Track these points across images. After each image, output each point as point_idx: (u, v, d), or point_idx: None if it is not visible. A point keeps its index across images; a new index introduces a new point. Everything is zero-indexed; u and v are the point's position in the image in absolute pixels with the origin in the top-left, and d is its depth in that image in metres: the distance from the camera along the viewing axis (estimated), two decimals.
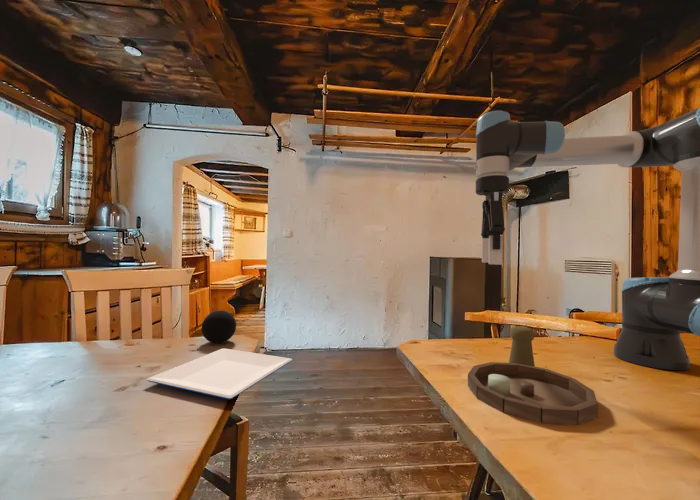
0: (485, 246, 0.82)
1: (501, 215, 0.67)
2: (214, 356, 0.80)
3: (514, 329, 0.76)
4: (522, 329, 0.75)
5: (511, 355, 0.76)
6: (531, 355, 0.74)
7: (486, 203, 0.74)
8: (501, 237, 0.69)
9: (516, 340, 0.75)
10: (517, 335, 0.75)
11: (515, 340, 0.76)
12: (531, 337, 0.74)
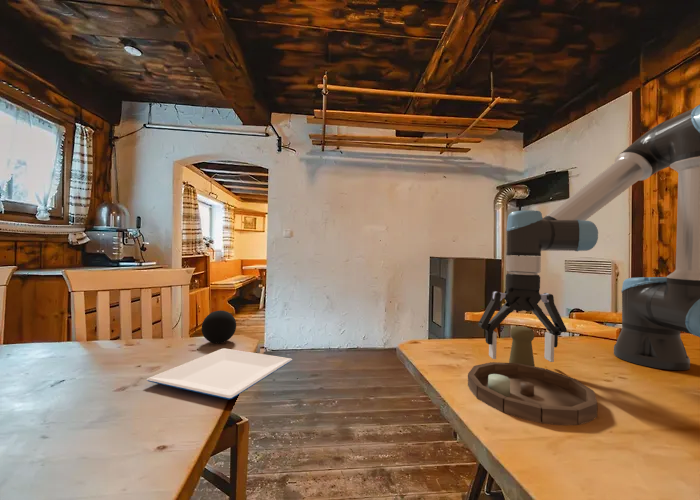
0: (546, 341, 0.76)
1: (486, 314, 0.76)
2: (214, 356, 0.80)
3: (514, 329, 0.76)
4: (522, 329, 0.75)
5: (511, 355, 0.76)
6: (531, 355, 0.74)
7: None
8: (493, 334, 0.76)
9: (516, 340, 0.75)
10: (517, 335, 0.75)
11: (515, 340, 0.76)
12: (531, 337, 0.74)
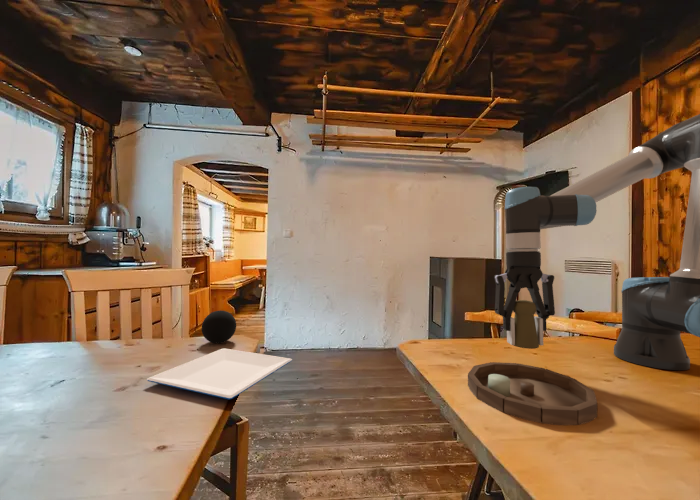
0: None
1: (498, 300, 0.76)
2: (214, 356, 0.80)
3: (516, 303, 0.76)
4: (524, 302, 0.75)
5: None
6: (534, 328, 0.74)
7: None
8: (510, 320, 0.75)
9: (518, 314, 0.75)
10: (519, 309, 0.75)
11: (517, 314, 0.76)
12: (533, 310, 0.74)
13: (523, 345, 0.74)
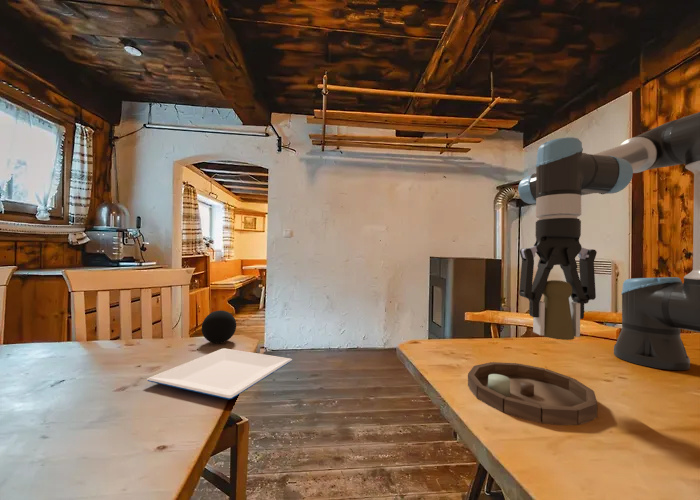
0: None
1: (525, 279, 0.61)
2: (214, 356, 0.80)
3: (547, 283, 0.61)
4: (557, 282, 0.60)
5: None
6: (569, 314, 0.59)
7: None
8: (540, 304, 0.61)
9: (549, 297, 0.61)
10: (551, 290, 0.60)
11: (548, 297, 0.61)
12: (569, 291, 0.59)
13: (555, 335, 0.59)
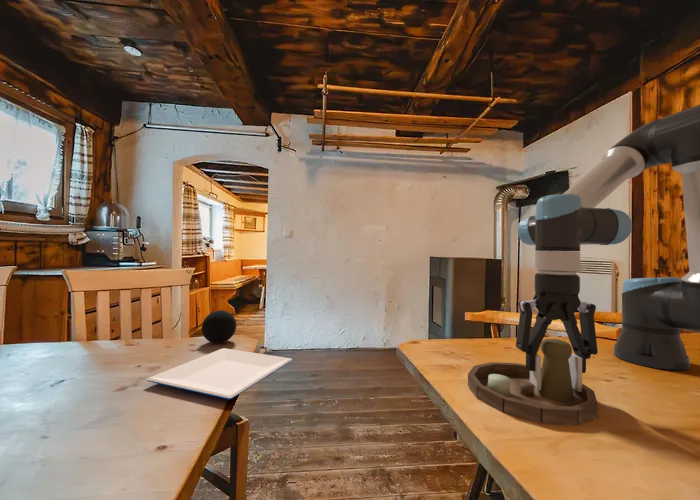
0: (571, 365, 0.62)
1: (522, 332, 0.61)
2: (214, 356, 0.80)
3: (546, 343, 0.61)
4: (557, 343, 0.60)
5: (543, 374, 0.62)
6: (568, 376, 0.59)
7: None
8: (536, 358, 0.61)
9: (549, 357, 0.61)
10: (550, 351, 0.60)
11: (548, 357, 0.61)
12: (569, 353, 0.59)
13: (555, 397, 0.59)
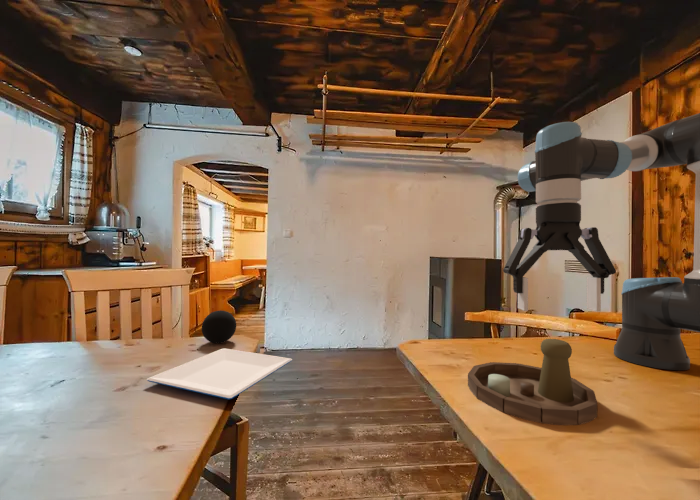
0: (589, 287, 0.62)
1: (514, 256, 0.61)
2: (214, 356, 0.80)
3: (546, 343, 0.61)
4: (557, 343, 0.60)
5: (542, 374, 0.62)
6: (568, 376, 0.59)
7: None
8: (523, 279, 0.61)
9: (549, 357, 0.61)
10: (550, 351, 0.60)
11: (548, 357, 0.61)
12: (569, 353, 0.59)
13: (555, 397, 0.59)
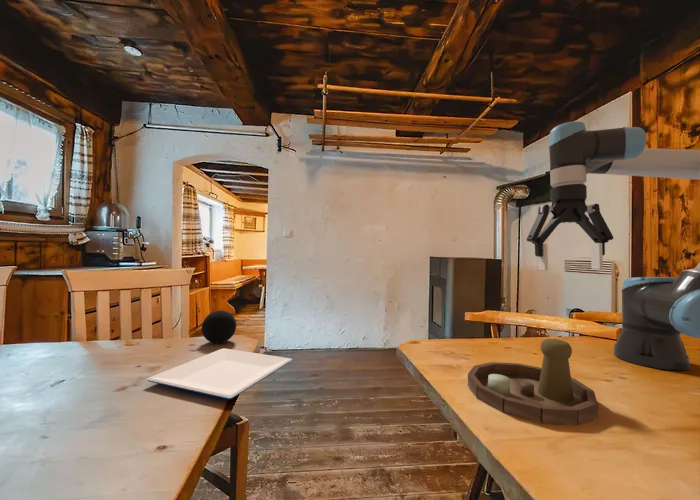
0: (593, 251, 0.79)
1: (536, 227, 0.77)
2: (214, 356, 0.80)
3: (546, 343, 0.61)
4: (557, 343, 0.60)
5: (542, 374, 0.62)
6: (568, 376, 0.59)
7: None
8: (543, 245, 0.77)
9: (549, 357, 0.61)
10: (550, 351, 0.60)
11: (548, 357, 0.61)
12: (569, 353, 0.59)
13: (555, 397, 0.59)
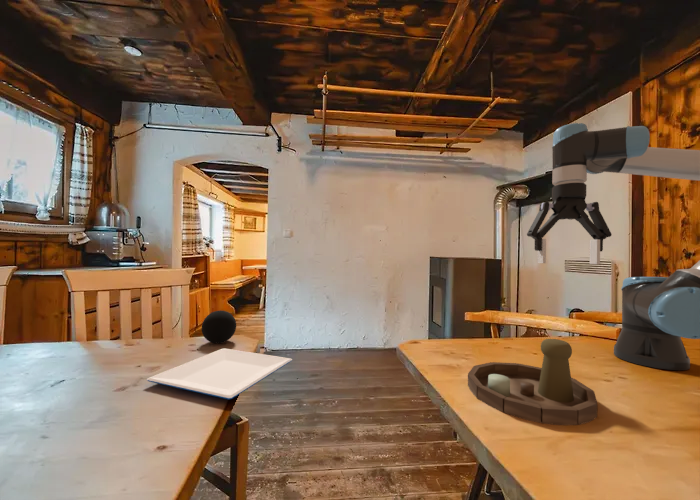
0: (592, 247, 0.82)
1: (536, 222, 0.82)
2: (214, 356, 0.80)
3: (546, 343, 0.61)
4: (557, 343, 0.60)
5: (543, 374, 0.62)
6: (568, 376, 0.59)
7: None
8: (542, 240, 0.82)
9: (549, 357, 0.61)
10: (550, 351, 0.60)
11: (548, 357, 0.61)
12: (569, 353, 0.59)
13: (555, 397, 0.59)
